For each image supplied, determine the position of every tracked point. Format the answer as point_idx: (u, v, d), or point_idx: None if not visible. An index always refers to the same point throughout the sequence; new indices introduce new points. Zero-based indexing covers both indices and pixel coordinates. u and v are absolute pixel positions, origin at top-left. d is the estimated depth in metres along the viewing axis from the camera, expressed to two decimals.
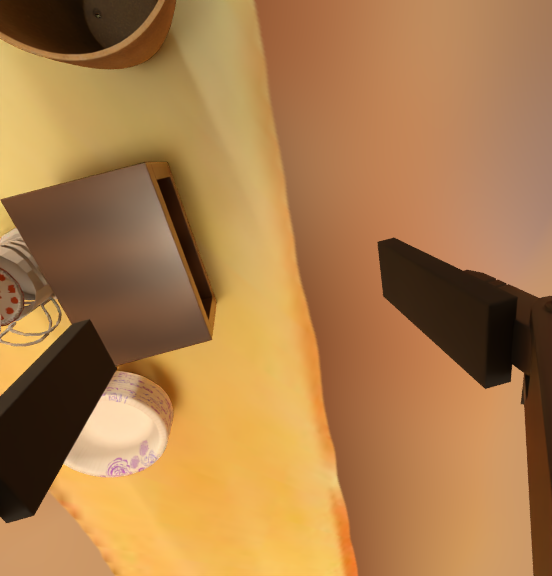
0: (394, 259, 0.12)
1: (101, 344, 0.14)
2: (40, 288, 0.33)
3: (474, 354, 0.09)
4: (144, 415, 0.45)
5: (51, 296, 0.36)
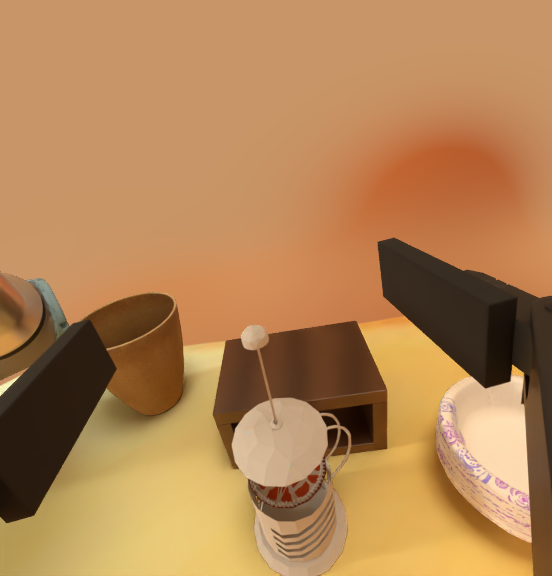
0: (394, 259, 0.12)
1: (101, 344, 0.14)
2: None
3: (474, 354, 0.09)
4: (504, 421, 0.34)
5: None
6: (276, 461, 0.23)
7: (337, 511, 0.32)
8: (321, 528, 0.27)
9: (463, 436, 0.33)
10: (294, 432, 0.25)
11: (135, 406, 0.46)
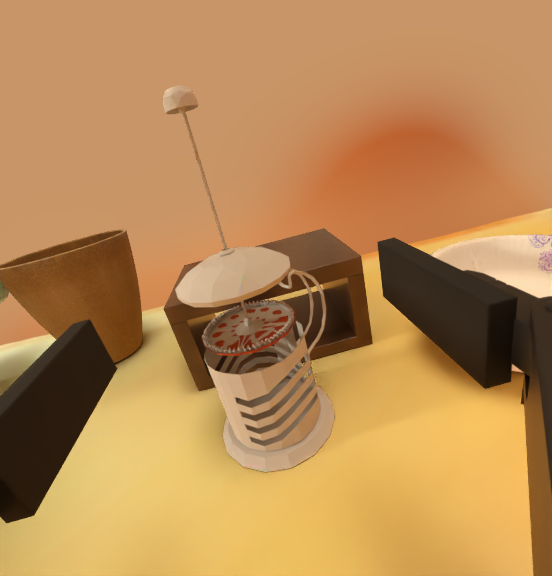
0: (394, 259, 0.12)
1: (101, 344, 0.14)
2: None
3: (474, 354, 0.09)
4: None
5: None
6: (226, 276, 0.19)
7: (320, 399, 0.27)
8: (298, 392, 0.22)
9: None
10: (248, 254, 0.20)
11: None
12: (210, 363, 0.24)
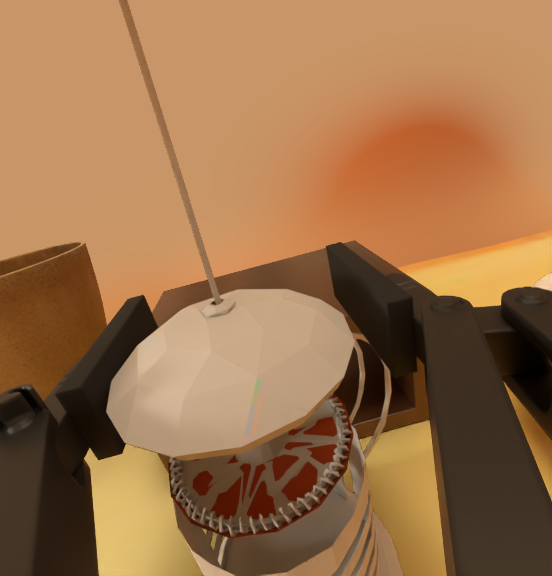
0: (336, 262, 0.14)
1: (153, 318, 0.15)
2: None
3: (386, 347, 0.10)
4: None
5: None
6: (214, 380, 0.08)
7: (376, 540, 0.16)
8: None
9: None
10: (265, 315, 0.09)
11: None
12: None
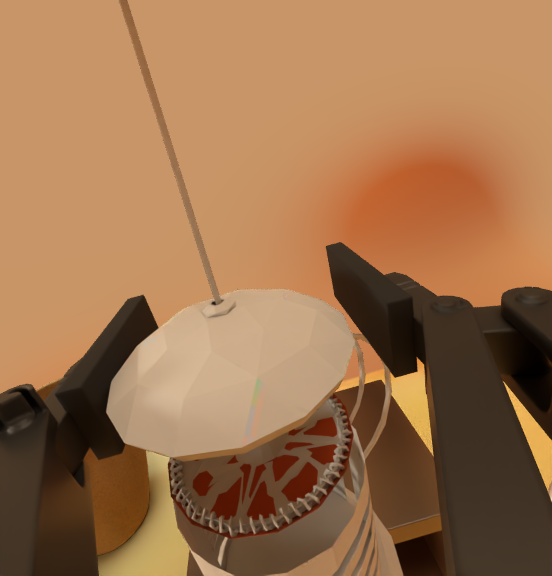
0: (336, 262, 0.14)
1: (153, 318, 0.15)
2: None
3: (385, 347, 0.10)
4: None
5: None
6: (214, 380, 0.08)
7: (376, 541, 0.16)
8: None
9: None
10: (265, 316, 0.09)
11: None
12: None
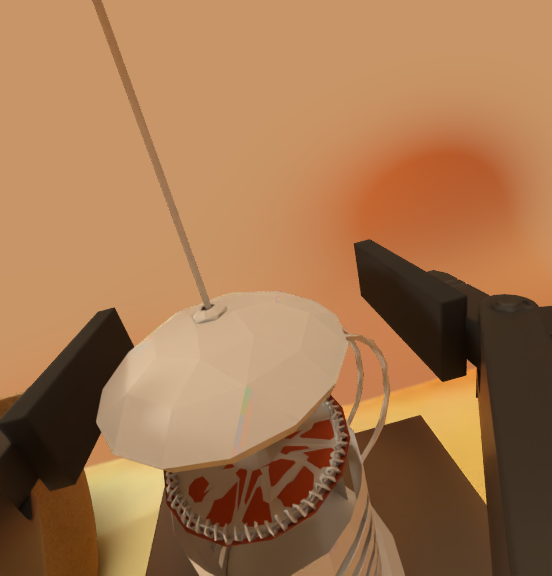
0: (367, 260, 0.13)
1: (124, 332, 0.14)
2: None
3: (432, 349, 0.09)
4: None
5: None
6: (203, 389, 0.08)
7: (378, 540, 0.16)
8: None
9: None
10: (256, 320, 0.09)
11: None
12: None
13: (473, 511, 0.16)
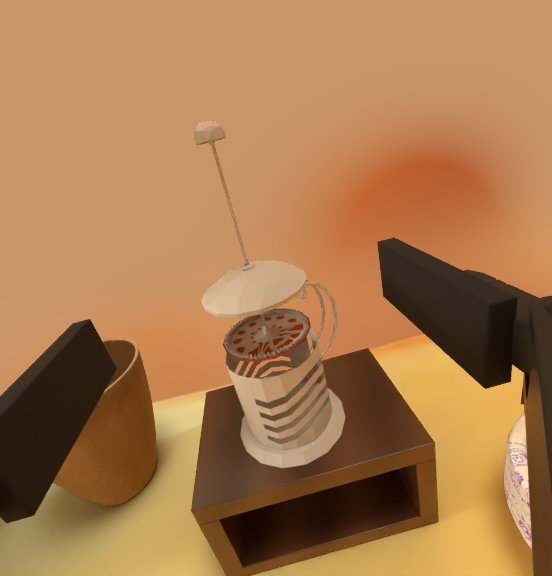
0: (394, 259, 0.12)
1: (101, 344, 0.14)
2: None
3: (474, 354, 0.09)
4: None
5: None
6: (249, 290, 0.21)
7: (332, 400, 0.29)
8: (312, 395, 0.24)
9: None
10: (268, 269, 0.22)
11: (90, 497, 0.34)
12: (230, 367, 0.26)
13: (386, 388, 0.29)
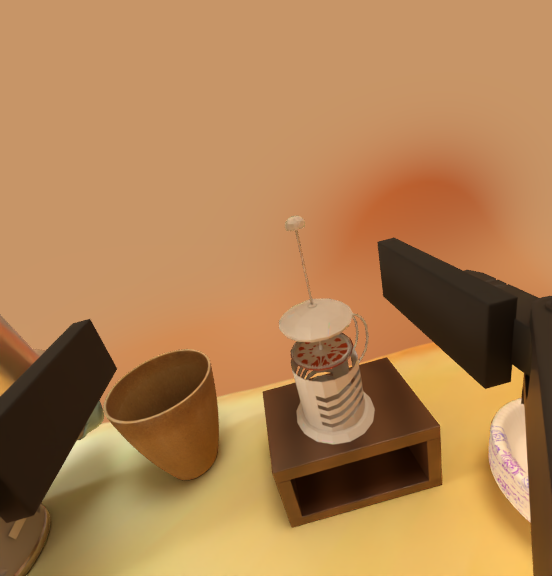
0: (394, 259, 0.12)
1: (101, 344, 0.14)
2: None
3: (474, 354, 0.09)
4: None
5: None
6: (317, 323, 0.31)
7: (364, 397, 0.39)
8: (355, 393, 0.35)
9: (518, 463, 0.34)
10: (327, 307, 0.33)
11: (175, 472, 0.44)
12: (293, 373, 0.37)
13: (403, 388, 0.40)
